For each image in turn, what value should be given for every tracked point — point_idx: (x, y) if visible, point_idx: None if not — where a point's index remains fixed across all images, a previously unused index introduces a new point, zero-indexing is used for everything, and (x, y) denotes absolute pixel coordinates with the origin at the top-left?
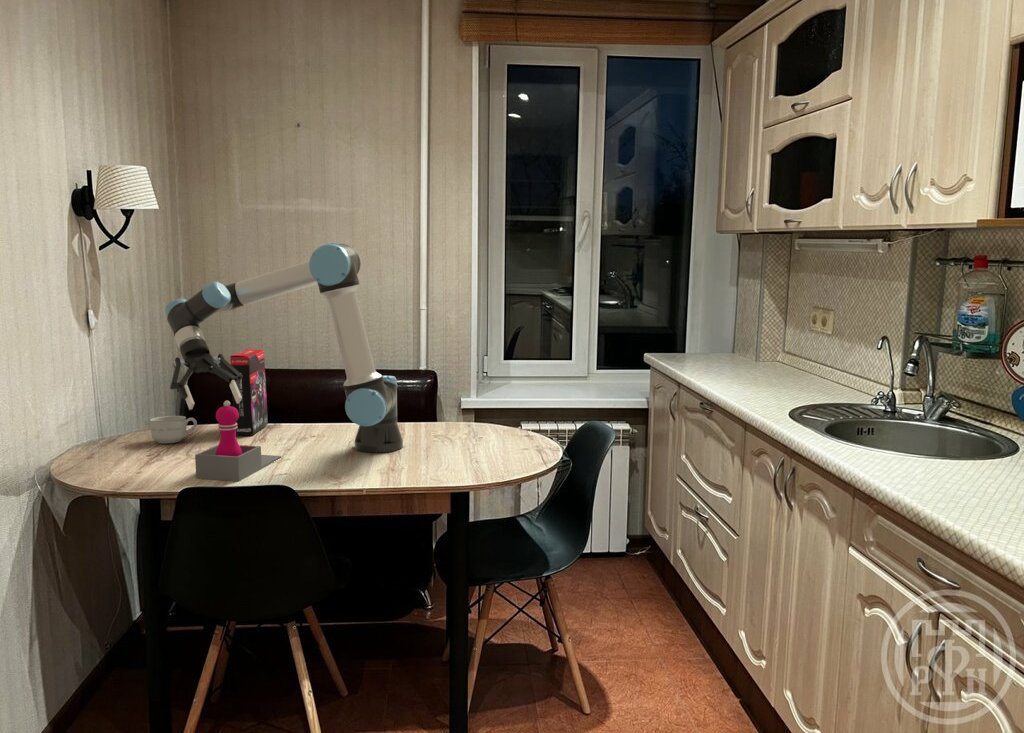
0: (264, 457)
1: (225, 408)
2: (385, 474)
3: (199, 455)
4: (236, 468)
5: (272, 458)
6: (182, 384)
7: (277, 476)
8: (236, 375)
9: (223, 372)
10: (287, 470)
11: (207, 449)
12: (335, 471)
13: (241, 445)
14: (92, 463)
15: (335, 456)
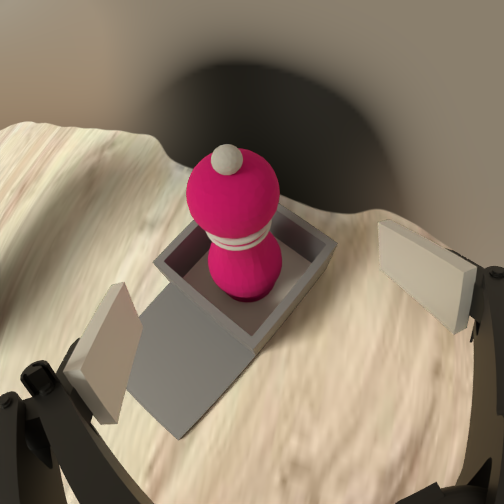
0: (137, 369)
1: (241, 151)
2: (41, 169)
3: (326, 236)
4: None
5: None
6: (490, 270)
7: (163, 213)
8: (23, 421)
9: (97, 452)
10: (130, 248)
11: (300, 290)
12: (72, 207)
13: (196, 297)
14: None
15: (25, 308)
